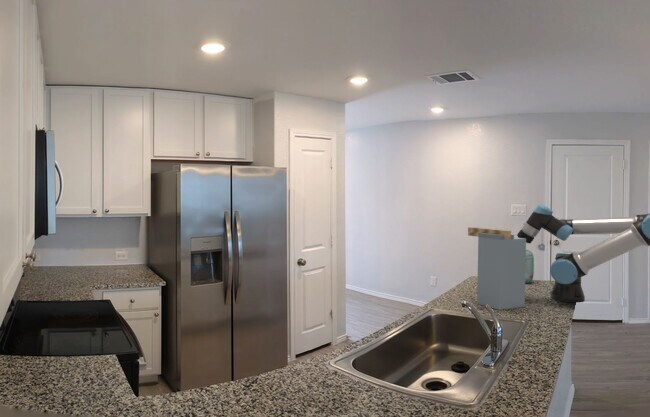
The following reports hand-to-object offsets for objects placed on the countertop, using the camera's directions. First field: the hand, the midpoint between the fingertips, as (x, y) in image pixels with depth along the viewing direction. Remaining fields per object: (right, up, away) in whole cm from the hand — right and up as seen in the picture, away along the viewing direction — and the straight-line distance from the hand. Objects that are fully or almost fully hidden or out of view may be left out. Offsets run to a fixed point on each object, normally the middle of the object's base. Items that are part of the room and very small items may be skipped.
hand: (503, 266), depth 241 cm
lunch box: (+20, -14, +43) cm, 49 cm away
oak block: (-14, +16, -16) cm, 27 cm away
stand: (-8, -16, -18) cm, 25 cm away
